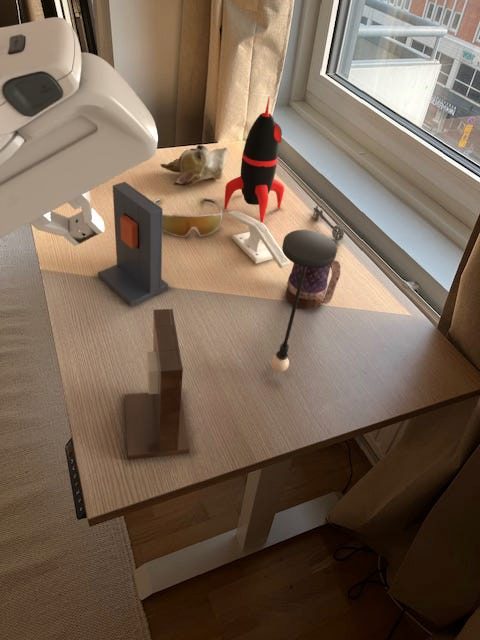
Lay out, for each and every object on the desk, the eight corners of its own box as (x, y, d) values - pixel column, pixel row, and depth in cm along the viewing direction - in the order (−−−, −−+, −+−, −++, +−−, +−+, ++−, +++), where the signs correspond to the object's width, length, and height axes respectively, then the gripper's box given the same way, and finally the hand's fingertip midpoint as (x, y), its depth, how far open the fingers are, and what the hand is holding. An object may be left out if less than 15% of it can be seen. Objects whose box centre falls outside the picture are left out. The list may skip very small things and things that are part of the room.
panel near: (128, 460, 67) (123, 373, 55) (124, 398, 74) (119, 311, 62) (189, 453, 69) (197, 368, 57) (180, 394, 76) (185, 308, 64)
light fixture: (247, 381, 79) (274, 246, 62) (268, 355, 84) (297, 223, 67) (286, 401, 77) (324, 268, 60) (304, 374, 82) (345, 243, 65)
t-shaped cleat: (271, 279, 98) (275, 256, 95) (219, 224, 110) (221, 202, 106) (288, 274, 100) (293, 251, 96) (235, 221, 112) (238, 198, 108)
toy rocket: (261, 226, 111) (280, 110, 94) (221, 209, 114) (233, 93, 98) (282, 208, 118) (304, 96, 101) (244, 192, 121) (259, 81, 104)
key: (342, 244, 110) (346, 231, 108) (338, 245, 110) (342, 231, 107) (314, 214, 118) (317, 201, 115) (310, 215, 117) (314, 202, 115)
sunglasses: (158, 240, 103) (158, 216, 100) (149, 209, 115) (149, 188, 112) (227, 237, 106) (229, 215, 104) (212, 208, 118) (213, 187, 115)
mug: (278, 288, 96) (289, 234, 88) (310, 282, 99) (325, 229, 91) (304, 325, 90) (319, 270, 82) (338, 317, 92) (356, 263, 84)
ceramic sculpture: (237, 151, 116) (173, 161, 111) (235, 186, 122) (174, 196, 117) (218, 131, 123) (158, 140, 118) (217, 165, 129) (160, 174, 124)
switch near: (148, 394, 64) (148, 371, 61) (146, 375, 66) (146, 351, 63) (158, 393, 64) (158, 370, 61) (156, 374, 67) (156, 350, 64)
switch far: (132, 248, 85) (131, 226, 83) (121, 239, 87) (119, 217, 84) (138, 246, 86) (137, 224, 83) (126, 237, 88) (126, 215, 85)
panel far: (131, 306, 88) (128, 221, 77) (98, 276, 93) (90, 192, 81) (168, 288, 93) (170, 205, 81) (135, 261, 97) (132, 178, 86)
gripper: (-170, 205, 34) (-9, 309, 45) (86, 50, 30) (197, 207, 41) (-147, 149, 38) (-3, 258, 49) (84, 4, 34) (186, 158, 44)
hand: (90, 234), depth 45 cm, fingers closed
